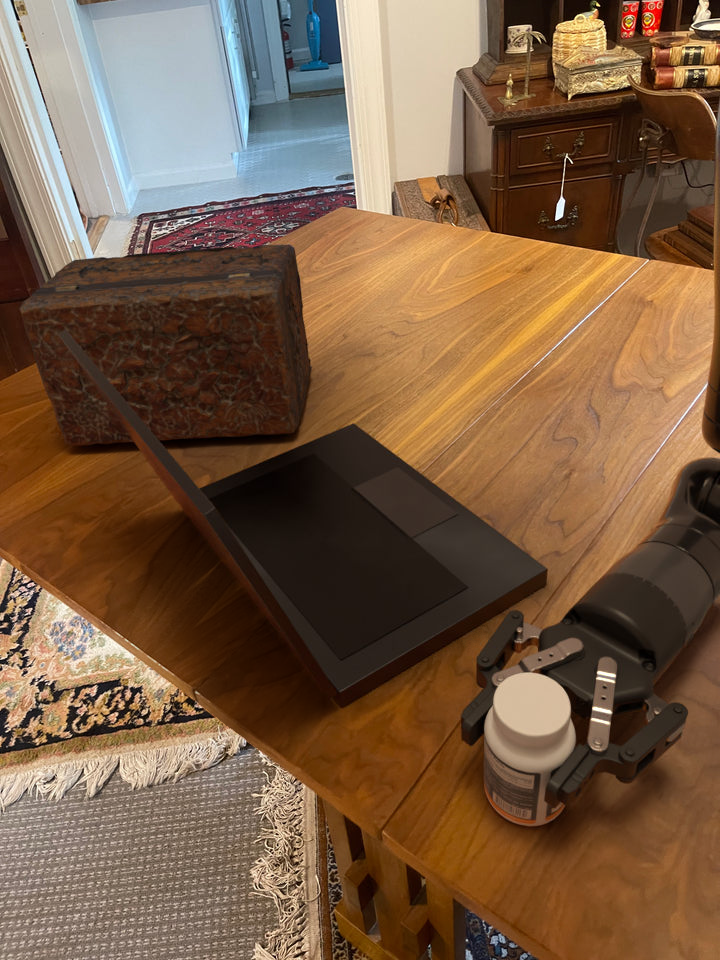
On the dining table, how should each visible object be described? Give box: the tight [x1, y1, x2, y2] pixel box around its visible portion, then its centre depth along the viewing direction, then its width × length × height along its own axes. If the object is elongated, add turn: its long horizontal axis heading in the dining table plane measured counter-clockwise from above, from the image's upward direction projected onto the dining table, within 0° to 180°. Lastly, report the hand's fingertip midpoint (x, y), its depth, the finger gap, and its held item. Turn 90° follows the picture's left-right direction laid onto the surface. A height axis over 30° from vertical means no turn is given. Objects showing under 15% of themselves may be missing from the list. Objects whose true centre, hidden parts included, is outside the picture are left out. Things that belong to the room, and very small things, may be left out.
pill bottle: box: [483, 673, 577, 827], centre depth 48 cm, size 6×6×10 cm
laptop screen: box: [58, 330, 337, 700], centre depth 60 cm, size 22×32×1 cm
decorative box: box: [19, 244, 313, 447], centre depth 91 cm, size 31×20×20 cm
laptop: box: [198, 423, 549, 709], centre depth 72 cm, size 22×32×2 cm
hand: (506, 765), depth 46 cm, fingers closed on pill bottle, 5 cm apart
